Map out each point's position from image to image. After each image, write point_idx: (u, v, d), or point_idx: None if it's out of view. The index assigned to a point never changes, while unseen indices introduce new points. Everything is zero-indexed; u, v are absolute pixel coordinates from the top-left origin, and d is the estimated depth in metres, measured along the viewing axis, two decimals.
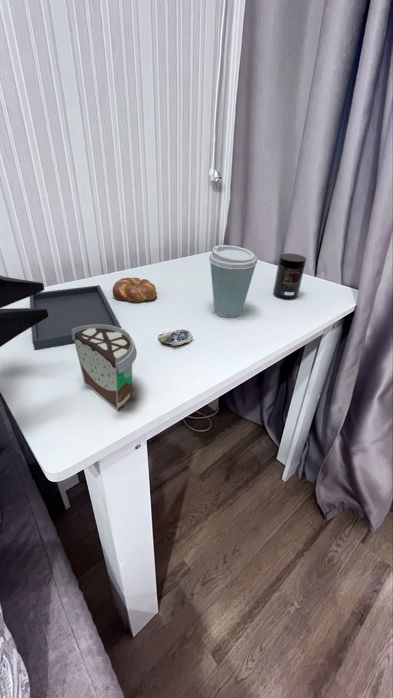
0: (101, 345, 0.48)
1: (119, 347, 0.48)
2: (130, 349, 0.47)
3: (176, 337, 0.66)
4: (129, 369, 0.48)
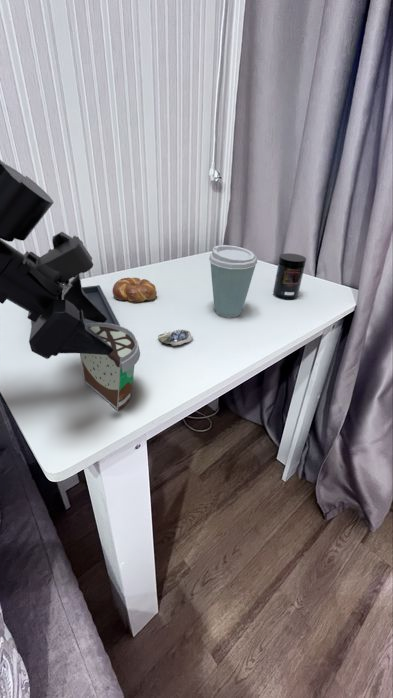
0: None
1: (123, 346, 0.48)
2: (134, 349, 0.47)
3: (176, 337, 0.66)
4: (132, 369, 0.48)
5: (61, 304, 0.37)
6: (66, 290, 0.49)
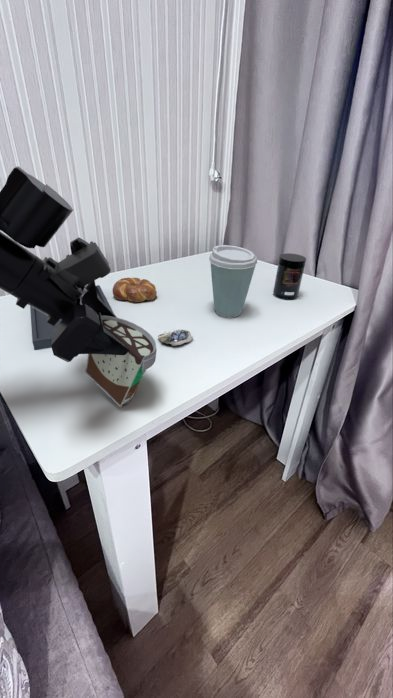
0: (125, 339, 0.48)
1: (142, 346, 0.49)
2: (155, 350, 0.48)
3: (176, 337, 0.66)
4: None
5: (81, 309, 0.39)
6: (82, 295, 0.50)
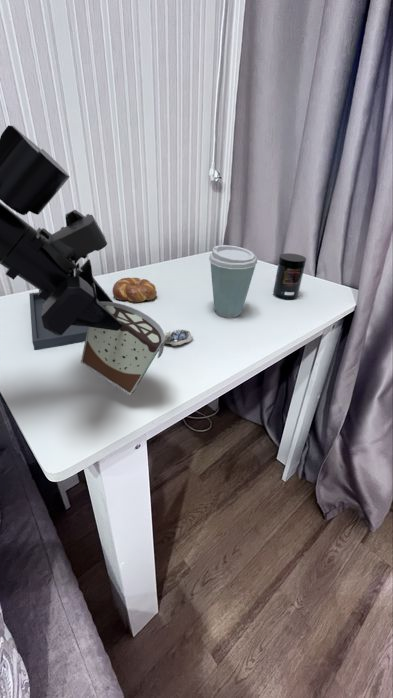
0: (132, 326, 0.47)
1: (148, 331, 0.48)
2: (163, 336, 0.48)
3: (176, 337, 0.66)
4: None
5: (75, 280, 0.37)
6: (76, 276, 0.47)
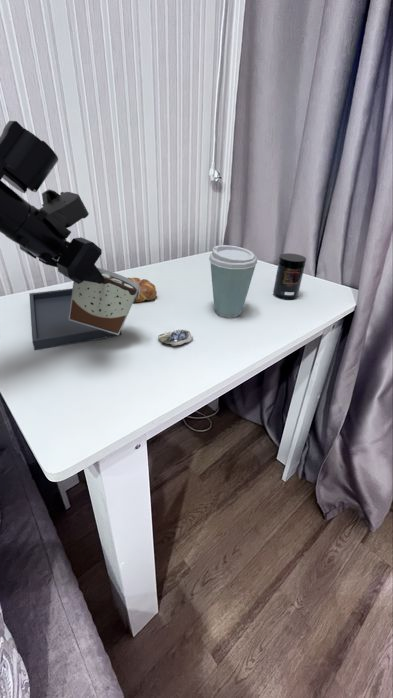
0: (110, 279, 0.60)
1: (122, 282, 0.62)
2: (134, 283, 0.62)
3: (176, 337, 0.66)
4: None
5: (83, 239, 0.49)
6: None
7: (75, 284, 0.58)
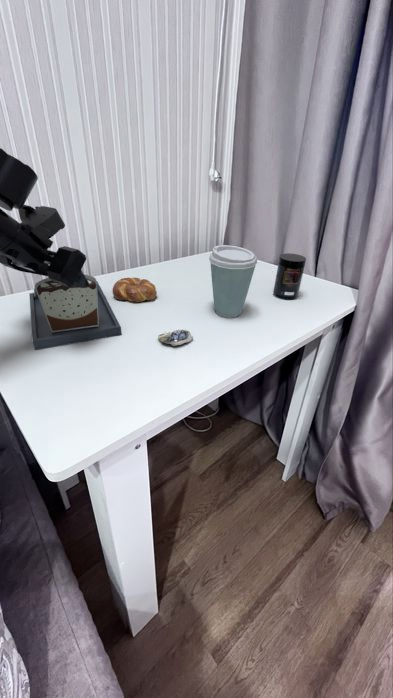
0: None
1: None
2: (90, 277, 0.67)
3: (176, 337, 0.66)
4: None
5: (68, 248, 0.56)
6: None
7: (42, 301, 0.64)
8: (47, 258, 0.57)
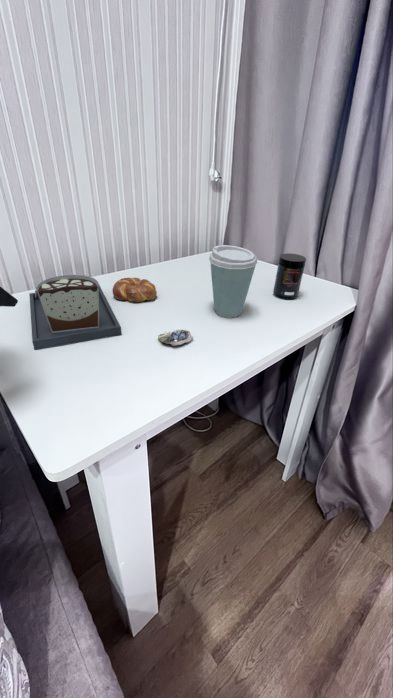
0: (70, 285, 0.65)
1: (81, 282, 0.67)
2: (91, 278, 0.67)
3: (176, 337, 0.66)
4: None
5: None
6: None
7: (43, 302, 0.64)
8: None
